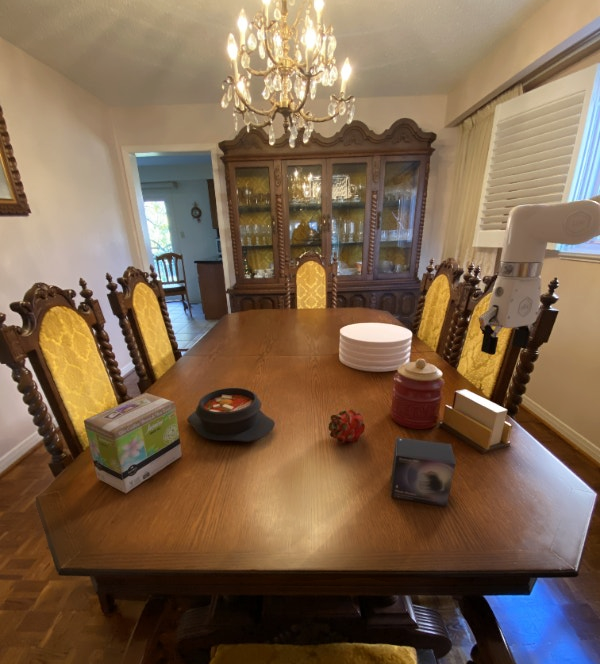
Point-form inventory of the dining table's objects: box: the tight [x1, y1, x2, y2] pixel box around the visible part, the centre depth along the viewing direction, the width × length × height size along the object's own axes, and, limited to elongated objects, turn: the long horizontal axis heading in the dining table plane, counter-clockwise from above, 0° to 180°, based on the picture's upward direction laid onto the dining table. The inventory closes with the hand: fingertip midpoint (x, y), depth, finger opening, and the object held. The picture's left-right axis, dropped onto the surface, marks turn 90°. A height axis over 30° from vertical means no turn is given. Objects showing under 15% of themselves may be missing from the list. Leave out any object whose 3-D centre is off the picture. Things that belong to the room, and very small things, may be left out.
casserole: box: [186, 387, 276, 443], centre depth 92 cm, size 25×19×8 cm
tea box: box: [83, 392, 183, 494], centre depth 75 cm, size 15×10×15 cm, turn 151°
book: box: [451, 388, 508, 446], centre depth 86 cm, size 4×12×9 cm, turn 23°
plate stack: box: [338, 322, 413, 373], centre depth 139 cm, size 28×28×12 cm
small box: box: [390, 437, 457, 508], centre depth 67 cm, size 11×6×10 cm, turn 76°
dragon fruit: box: [327, 409, 366, 444], centre depth 87 cm, size 8×8×12 cm
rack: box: [438, 404, 513, 455], centre depth 87 cm, size 9×14×6 cm, turn 23°
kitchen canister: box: [390, 358, 446, 430], centre depth 93 cm, size 13×13×18 cm
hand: (503, 349), depth 77 cm, fingers open, 9 cm apart
